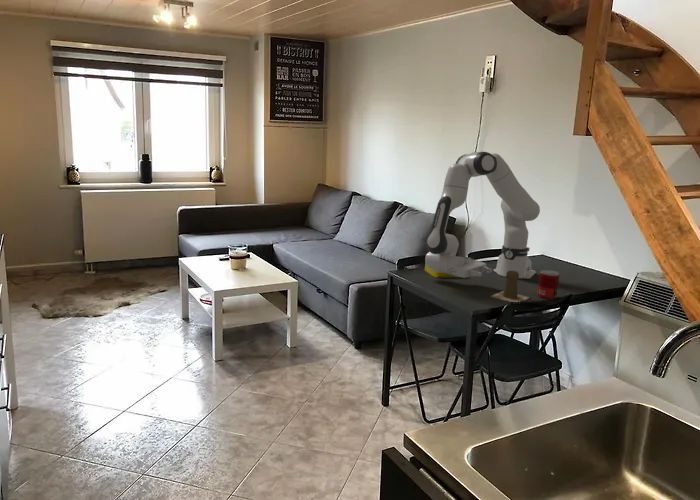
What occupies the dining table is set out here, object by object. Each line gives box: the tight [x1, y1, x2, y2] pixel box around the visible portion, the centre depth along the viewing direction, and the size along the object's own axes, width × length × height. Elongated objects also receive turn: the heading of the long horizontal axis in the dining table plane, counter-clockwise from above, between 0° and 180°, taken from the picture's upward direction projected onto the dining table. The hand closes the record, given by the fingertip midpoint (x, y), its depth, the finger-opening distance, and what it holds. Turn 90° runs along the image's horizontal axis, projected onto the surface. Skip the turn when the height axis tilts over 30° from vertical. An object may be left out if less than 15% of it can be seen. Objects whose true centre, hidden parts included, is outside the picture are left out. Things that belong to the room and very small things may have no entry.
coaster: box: [490, 290, 530, 303], centre depth 245 cm, size 12×12×1 cm
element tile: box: [424, 262, 458, 278], centre depth 280 cm, size 15×15×5 cm
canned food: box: [536, 269, 560, 300], centre depth 249 cm, size 8×8×11 cm
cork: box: [503, 271, 520, 299], centre depth 244 cm, size 6×6×11 cm
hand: (486, 272), depth 251 cm, fingers open, 8 cm apart
